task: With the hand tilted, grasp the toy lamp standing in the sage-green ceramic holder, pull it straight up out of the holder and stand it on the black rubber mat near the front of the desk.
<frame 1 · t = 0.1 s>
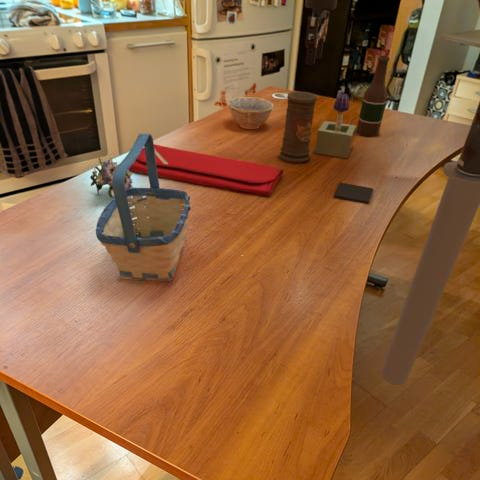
hand: (313, 61, 119), 28 cm above the table, tool pointing down, fingers open, 8 cm apart
holder: (333, 150, 148), on the table
bowl: (249, 126, 163), on the table
dish drying mat: (205, 174, 130), on the table
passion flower: (112, 197, 117), on the table
basket: (148, 266, 94), on the table
toy lamp: (333, 150, 148), resting in holder
container: (294, 158, 142), on the table
beer bottle: (367, 133, 163), on the table
mat: (353, 193, 124), on the table
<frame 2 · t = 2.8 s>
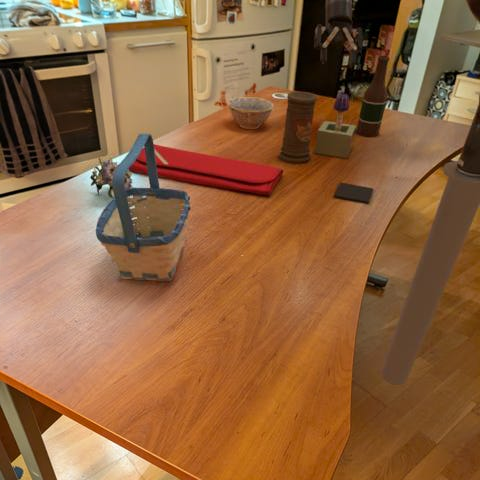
hand: (338, 64, 137), 23 cm above the table, tool tilted 35°, fingers open, 8 cm apart
nothing on the table moved.
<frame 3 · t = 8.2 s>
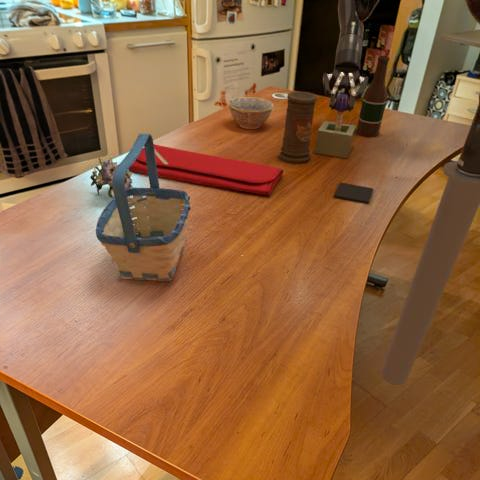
hand: (341, 108, 138), 13 cm above the table, tool tilted 45°, fingers closed on toy lamp, 4 cm apart
toy lamp: (333, 150, 148), resting in holder, touching gripper
everything else where it was.
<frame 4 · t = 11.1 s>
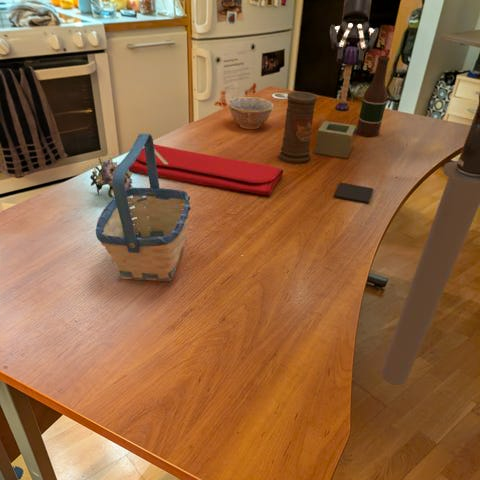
hand: (349, 62, 130), 26 cm above the table, tool tilted 45°, fingers closed on toy lamp, 4 cm apart
toy lamp: (341, 110, 140), point 12 cm above the table, touching gripper
everything else where it was.
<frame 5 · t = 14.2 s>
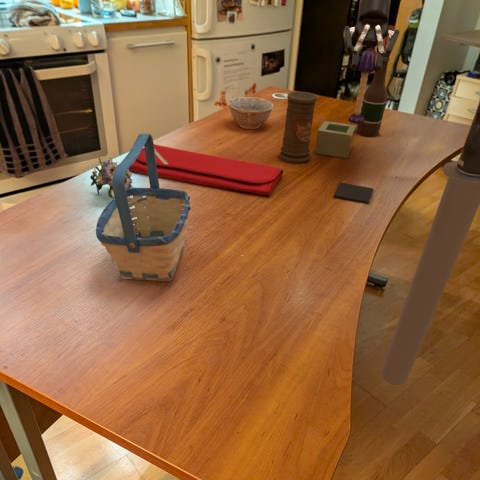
hand: (366, 69, 114), 28 cm above the table, tool tilted 45°, fingers closed on toy lamp, 4 cm apart
toy lamp: (355, 122, 125), point 15 cm above the table, touching gripper
everything else where it was.
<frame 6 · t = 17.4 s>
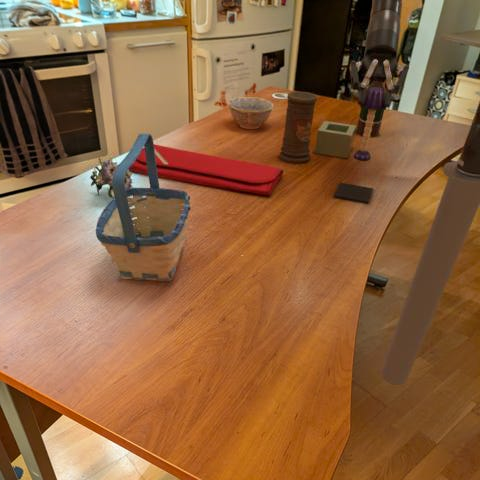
hand: (373, 106, 108), 23 cm above the table, tool tilted 45°, fingers closed on toy lamp, 4 cm apart
toy lamp: (360, 159, 118), point 9 cm above the table, touching gripper
everything else where it was.
when the fingers open (14 cm above the table, at t = 20.2 s): toy lamp stays where it is, resting on mat.
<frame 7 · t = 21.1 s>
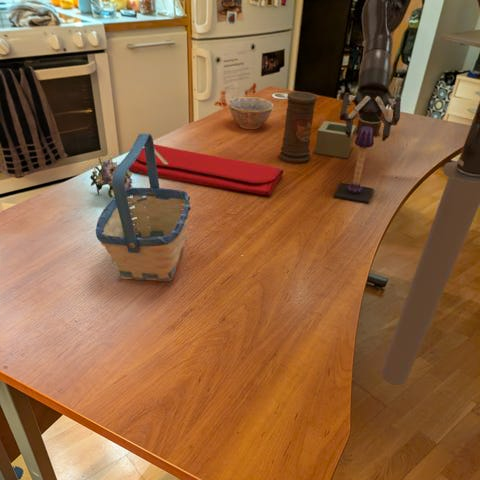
hand: (366, 137, 113), 15 cm above the table, tool tilted 45°, fingers open, 8 cm apart
toy lamp: (353, 192, 124), resting on mat
everything else where it was.
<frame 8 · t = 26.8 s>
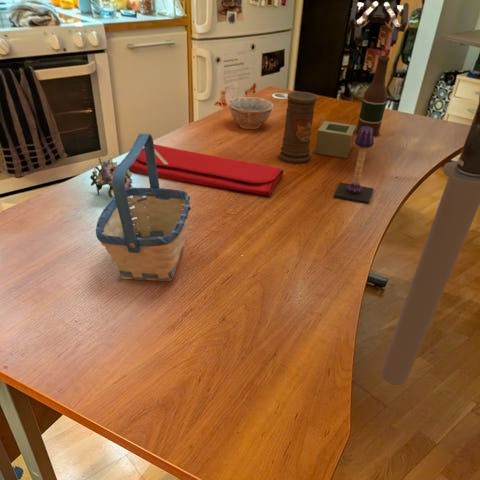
hand: (375, 43, 116), 33 cm above the table, tool tilted 45°, fingers open, 8 cm apart
nothing on the table moved.
at the end: toy lamp inside the target area on the mat (0.2 cm from its centre), point 0.4 cm above the mat's base; toy lamp tilted 0°; toy lamp touching mat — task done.
